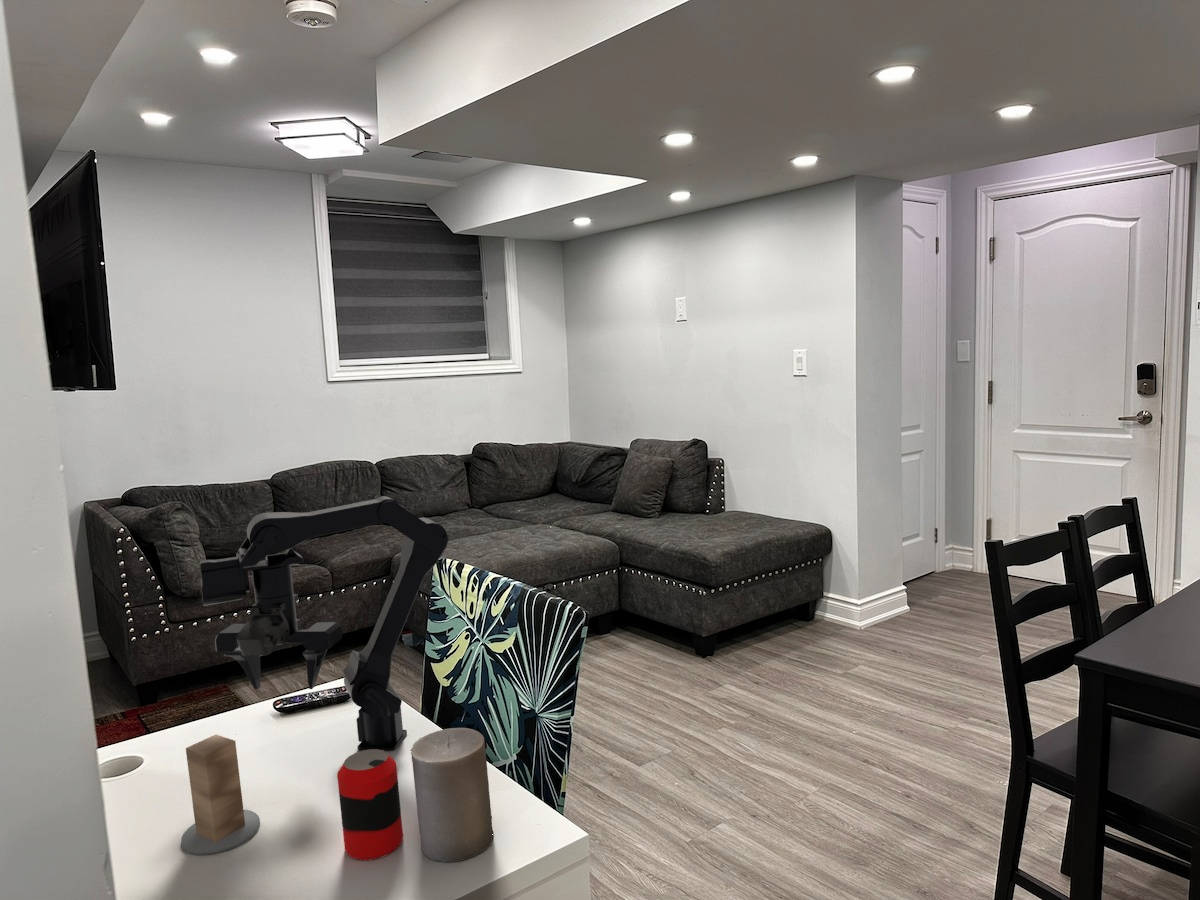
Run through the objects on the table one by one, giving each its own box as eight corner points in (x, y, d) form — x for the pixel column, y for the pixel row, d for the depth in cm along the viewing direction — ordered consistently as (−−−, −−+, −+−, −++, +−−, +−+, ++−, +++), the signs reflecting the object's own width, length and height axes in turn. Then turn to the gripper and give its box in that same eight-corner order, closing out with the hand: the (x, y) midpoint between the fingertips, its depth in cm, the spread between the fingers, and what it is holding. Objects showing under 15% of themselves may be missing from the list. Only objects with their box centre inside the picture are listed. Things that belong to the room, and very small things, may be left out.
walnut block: (225, 817, 120) (215, 734, 118) (245, 825, 118) (235, 740, 116) (196, 833, 116) (185, 748, 115) (215, 842, 114) (205, 755, 112)
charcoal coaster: (273, 813, 121) (272, 809, 121) (235, 855, 111) (235, 851, 111) (208, 813, 123) (208, 809, 122) (165, 854, 113) (165, 850, 113)
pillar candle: (503, 823, 115) (494, 719, 114) (477, 866, 106) (467, 753, 104) (438, 818, 118) (428, 716, 116) (407, 860, 108) (395, 750, 107)
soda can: (372, 867, 107) (364, 779, 106) (332, 851, 111) (323, 766, 110) (415, 837, 113) (407, 752, 112) (375, 822, 117) (367, 741, 116)
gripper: (188, 611, 125) (200, 710, 127) (307, 608, 123) (317, 710, 125) (229, 589, 136) (240, 681, 138) (339, 586, 134) (348, 680, 136)
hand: (284, 688), depth 134 cm, fingers open, 9 cm apart
